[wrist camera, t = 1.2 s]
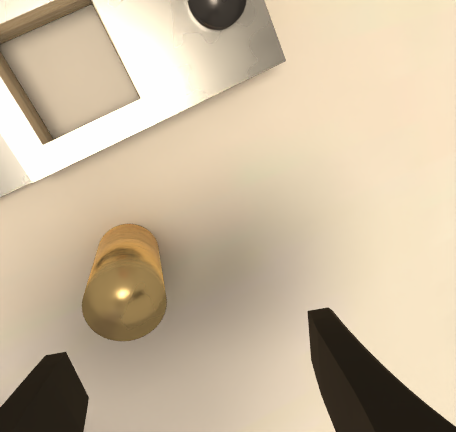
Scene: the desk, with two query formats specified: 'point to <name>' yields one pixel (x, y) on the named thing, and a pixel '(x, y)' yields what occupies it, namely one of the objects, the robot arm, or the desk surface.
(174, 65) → the square cutout plate
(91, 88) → the desk surface
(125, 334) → the brass pin
